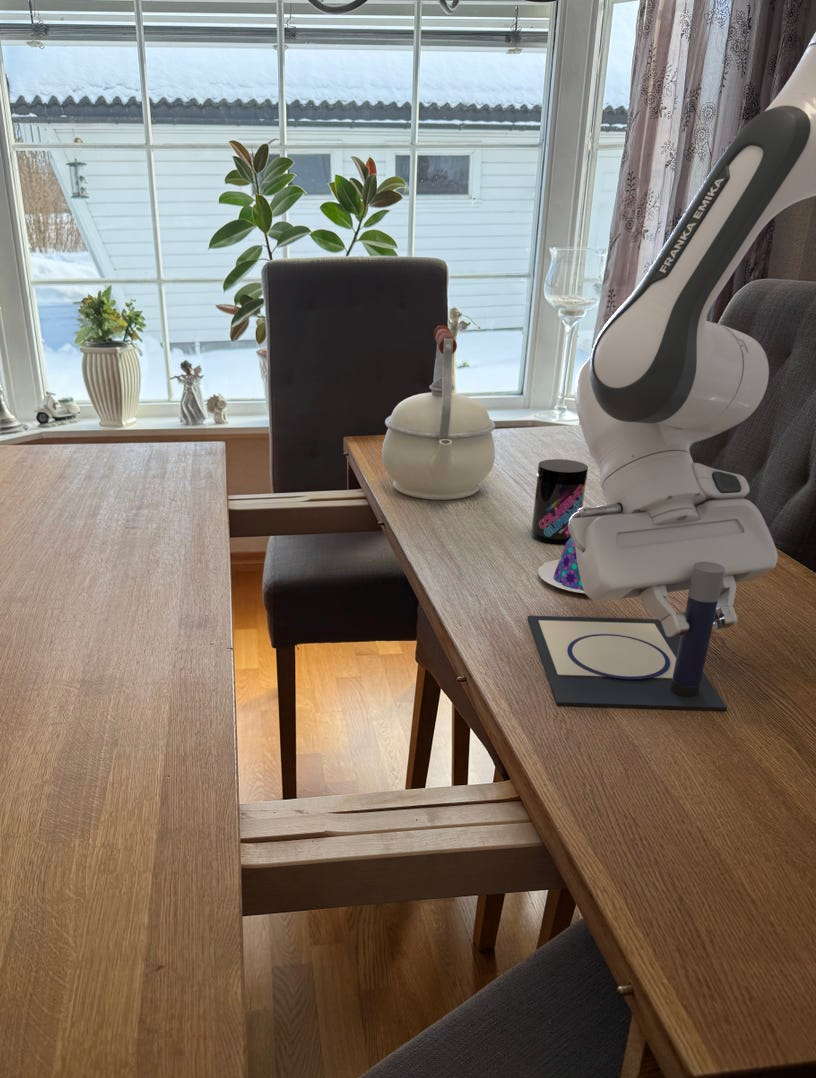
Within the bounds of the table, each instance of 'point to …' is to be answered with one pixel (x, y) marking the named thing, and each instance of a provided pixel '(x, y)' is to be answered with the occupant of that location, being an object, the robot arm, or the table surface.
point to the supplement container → (557, 498)
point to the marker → (697, 628)
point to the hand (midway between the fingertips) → (703, 630)
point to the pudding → (563, 570)
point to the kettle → (439, 437)
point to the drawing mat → (614, 664)
